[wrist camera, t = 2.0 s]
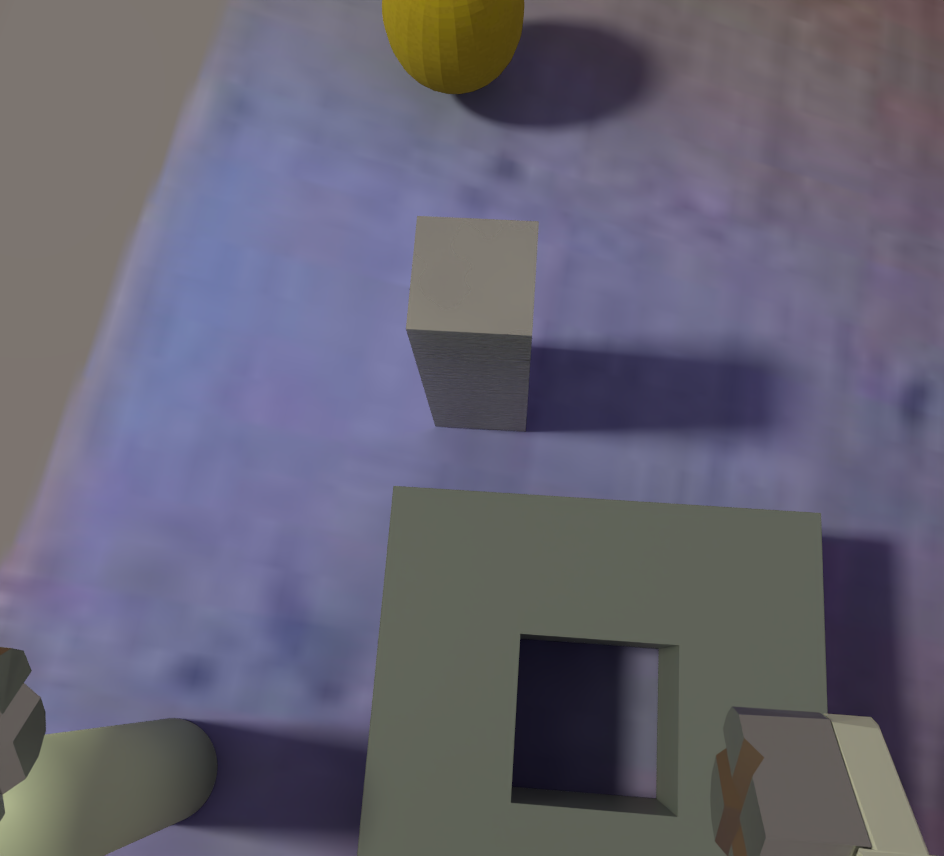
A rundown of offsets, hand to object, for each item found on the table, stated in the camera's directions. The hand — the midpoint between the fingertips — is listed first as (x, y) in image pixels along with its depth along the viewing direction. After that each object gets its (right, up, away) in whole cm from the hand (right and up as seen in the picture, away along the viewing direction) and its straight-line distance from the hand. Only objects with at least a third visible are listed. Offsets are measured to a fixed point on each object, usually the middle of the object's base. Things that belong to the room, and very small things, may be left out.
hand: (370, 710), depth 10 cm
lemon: (+1, +19, +28) cm, 34 cm away
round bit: (-10, -9, +21) cm, 25 cm away
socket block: (+5, -7, +21) cm, 22 cm away
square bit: (+2, +5, +24) cm, 25 cm away
